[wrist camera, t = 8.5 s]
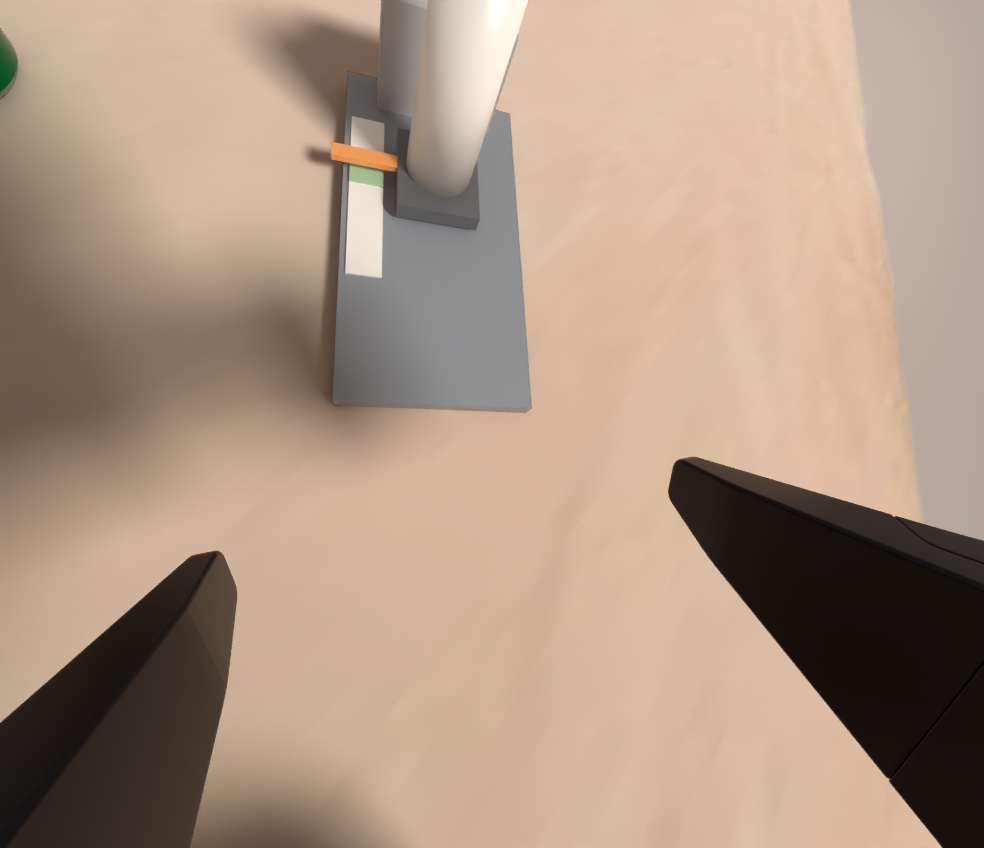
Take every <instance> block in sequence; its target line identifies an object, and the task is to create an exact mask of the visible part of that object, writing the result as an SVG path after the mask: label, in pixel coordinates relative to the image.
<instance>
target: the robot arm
mask: <svg viewBox="0 0 984 848" xmlns="http://www.w3.org/2000/svg"><path fill="white" fill-rule="evenodd" d="M668 494H669V498H670V500H671V502H672V504H673V505H674V507H675V508H676V510H677V511H678V513H679V514H680V516H681V517H682V519H683V520H684V522H685V523H686V525H687V526H688V528H689V529H690V531H691V532H692V534H693V535H694V537H695V538H696V540H697V541H698V543H699V544H700V546H701V547H702V549H703V550H704V552H705V553H706V554H707V556H708V557H709V559H710V560H711V561H712V563H713V564H714V565H715V566H716V568H717V569H718V570H719V571H720V573H721V574H722V575H723V576H724V578H725V579H726V580H727V581H728V582H729V584H730V585H731V586H732V587H733V589H734V590H735V591H736V592H737V594H738V595H739V596H740V597H741V599H742V600H743V601H744V602H745V604H746V605H747V606H748V607H749V608H750V610H751V611H752V612H753V613H754V615H755V616H756V617H757V618H758V620H759V621H760V622H761V623H762V625H763V626H764V627H765V628H766V629H767V631H768V632H769V633H770V634H771V636H772V637H773V638H774V639H775V641H776V642H777V643H778V644H779V646H780V647H781V648H782V649H783V650H784V652H785V653H786V654H787V655H788V657H789V658H790V659H791V660H792V662H793V663H794V664H795V665H796V667H797V668H798V669H799V670H800V672H801V673H802V674H803V675H804V676H805V678H806V679H807V680H808V681H809V683H810V684H811V685H812V686H813V688H814V689H815V690H816V691H817V693H818V694H819V695H820V696H821V697H822V699H823V700H824V701H825V702H826V704H827V705H828V706H829V707H830V709H831V710H832V711H833V712H834V714H835V715H836V716H837V717H838V719H839V720H840V721H841V722H842V723H843V725H844V726H845V727H846V728H847V730H848V731H849V732H850V733H851V735H852V736H853V737H854V738H855V740H856V741H857V742H858V743H859V744H860V746H861V747H862V748H863V749H864V751H865V752H866V753H867V754H868V756H869V757H870V758H871V759H872V761H873V762H874V763H875V764H876V765H877V767H878V768H879V769H880V770H881V772H882V773H883V774H884V775H885V777H887V778H889V782H890V783H891V785H892V786H893V787H894V788H895V790H896V791H897V792H898V793H899V795H900V796H901V797H902V798H903V799H904V801H905V802H906V803H907V804H908V806H909V807H910V808H911V809H912V811H913V812H914V813H915V814H916V816H917V817H918V818H919V819H920V821H921V822H922V823H923V824H924V825H925V827H926V828H927V829H928V830H929V832H930V833H931V834H932V835H933V837H934V838H935V839H936V840H937V842H938V843H939V844H940V845H941V847H942V848H984V541H983V540H979V539H975V538H971V537H968V536H964V535H960V534H957V533H953V532H949V531H946V530H943V529H939V528H936V527H932V526H929V525H925V524H922V523H918V522H915V521H911V520H908V519H905V518H901V517H898V516H895V517H893V516H892V515H890V514H887V513H884V512H881V511H877V510H874V509H870V508H867V507H864V506H860V505H857V504H854V503H850V502H847V501H843V500H840V499H837V498H833V497H830V496H826V495H823V494H820V493H816V492H813V491H809V490H806V489H803V488H799V487H796V486H793V485H789V484H786V483H782V482H779V481H776V480H772V479H769V478H765V477H762V476H759V475H755V474H752V473H748V472H745V471H742V470H738V469H735V468H732V467H728V466H725V465H721V464H718V463H715V462H711V461H708V460H704V459H701V458H698V457H688V458H683V459H679V460H677V461H676V462H675V463H674V465H673V470H672V474H671V479H670V484H669V488H668ZM236 604H237V589H236V585H235V582H234V579H233V577H232V574H231V572H230V569H229V567H228V565H227V562H226V560H225V557H224V555H223V554H222V553H221V552H219V551H211V552H206V553H201V554H196V555H193V556H191V557H189V558H188V559H187V560H186V561H184V562H183V563H182V564H181V565H180V566H179V567H178V568H176V569H175V570H174V571H173V572H172V573H171V574H170V575H168V576H167V577H166V578H165V579H164V580H163V581H162V582H160V583H159V584H158V585H157V586H156V587H155V588H154V589H153V590H151V591H150V592H149V593H148V594H147V595H146V596H145V597H143V598H142V599H141V600H140V601H139V602H138V603H137V604H135V605H134V606H133V607H132V608H131V609H130V610H129V611H127V612H126V613H125V614H124V615H123V616H122V617H121V618H119V619H118V620H117V621H116V622H115V623H114V624H113V625H111V626H110V627H109V628H108V629H107V630H106V631H105V632H103V633H102V634H101V635H100V636H99V637H98V638H97V639H95V640H94V641H93V642H92V643H91V644H90V645H89V646H87V647H86V648H85V649H84V650H83V651H82V652H81V653H79V654H78V655H77V656H76V657H75V658H74V659H73V660H72V661H70V662H69V663H68V664H67V665H66V666H65V667H64V668H62V669H61V670H60V671H59V672H58V673H57V674H56V675H54V676H53V677H52V678H51V679H50V680H49V681H48V682H46V683H45V684H44V685H43V686H42V687H41V688H40V689H38V690H37V691H36V692H35V693H34V694H33V695H32V696H30V697H29V698H28V699H27V700H26V701H25V702H24V703H22V704H21V705H20V706H19V707H18V708H17V709H16V710H14V711H13V712H12V713H11V714H10V715H9V716H8V717H6V718H5V719H4V720H3V721H2V722H1V723H0V848H190V845H191V841H192V837H193V832H194V828H195V824H196V819H197V815H198V811H199V806H200V802H201V798H202V794H203V789H204V785H205V781H206V776H207V772H208V768H209V764H210V759H211V755H212V751H213V746H214V742H215V738H216V733H217V729H218V725H219V721H220V716H221V712H222V708H223V703H224V698H225V693H226V688H227V682H228V674H229V666H230V657H231V648H232V639H233V630H234V622H235V613H236Z"/></svg>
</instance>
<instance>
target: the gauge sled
mask: <svg viewBox="0 0 984 848" xmlns="http://www.w3.org/2000/svg"><path fill="white" fill-rule="evenodd" d="M527 3H528V0H428V4H427V12H426V19H425V26H424V34H423V41H422V48H421V56H420V63H419V70H418V78H417V85H416V93H415V100H414V107H413V115H412V122H411V129H410V130H406V129H402V128H398V132H397V144H396V155H392V154H387V153H383V152H378V151H373V150H369V149H364V148H359V147H354V146H350V145H345V144H340V143H336V142H331V159H332V160H337V161H342V162H347V163H352V164H357V165H362V166H367V167H372V168H377V169H382V170H387V171H392V172H396V217H401V218H407V219H413V220H419V221H425V222H430V223H436V224H442V225H448V226H454V227H460V228H465V229H471V230H476V228H477V226H478V223H479V221H480V208H479V188H478V167H477V158H478V155H479V152H480V149H481V146H482V143H483V139H484V136H485V133H486V130H487V127H488V124H489V121H490V118H491V115H492V112H493V108H494V105H495V102H496V99H497V96H498V93H499V90H500V87H501V84H502V80H503V77H504V74H505V71H506V68H507V65H508V62H509V59H510V56H511V52H512V49H513V46H514V43H515V40H516V37H517V34H518V31H519V28H520V24H521V21H522V18H523V15H524V12H525V9H526V6H527Z"/></svg>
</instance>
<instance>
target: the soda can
mask: <svg viewBox="0 0 984 848" xmlns="http://www.w3.org/2000/svg"><path fill="white" fill-rule="evenodd" d="M16 71H17V56H16V52H15V50H14V48H13V46H12V44H11V43H10V41H9V40H8V38H7V37H6V35H5V34H4V33H3V31H2V30H1V28H0V98H1V97H3V96H4V95H5V94H6V93H7V92H8V91H9V89H10V88H11V86H12V84H13V82H14V79H15V76H16Z"/></svg>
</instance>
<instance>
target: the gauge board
mask: <svg viewBox="0 0 984 848" xmlns="http://www.w3.org/2000/svg"><path fill="white" fill-rule="evenodd" d="M427 4H428V0H381V16H380V37H379V57H378V77H377V79H376V78H373V77H369V76H365V75H361V74H357V73H354V72H350V71H348V76H347V97H346V119H345V140H344V144H345V145H350V146H354V147H359V148H364V149H369V150H373V151H378V152H383V153H387V154H392V155H396V144H397V132H398V128H402V129H406V130H410V129H411V122H412V115H413V107H414V100H415V93H416V85H417V78H418V70H419V63H420V56H421V48H422V41H423V34H424V26H425V19H426V12H427ZM517 41H518V34H517V37H516V40H515V43H514V46H513V49H512V52H511V56H510V59H509V62H508V65H507V68H506V71H505V74H504V77H503V80H502V84H501V87H500V90H499V93H498V96H497V99H496V102H495V105H494V108H493V112H492V115H491V118H490V121H489V124H488V127H487V130H486V133H485V136H484V139H483V143H482V146H481V149H480V152H479V155H478V158H477V167H478V188H479V208H480V221H479V223H478V226H477V228H476V230H471V229H465V228H460V227H454V226H448V225H442V224H436V223H430V222H425V221H419V220H413V219H407V218H401V217H396V172H392V171H387V170H382V169H377V168H372V167H367V166H362V165H357V164H352V163H347V162H343V183H342V204H341V226H340V247H339V268H338V290H337V311H336V333H335V354H334V375H333V397H332V400H333V405H346V406H371V407H396V408H421V409H447V410H472V411H497V412H522V413H526V412H527V411H529V410H530V409H531V408H532V404H531V390H530V377H529V363H528V350H527V337H526V323H525V310H524V297H523V283H522V270H521V256H520V243H519V230H518V216H517V203H516V189H515V176H514V163H513V149H512V136H511V122H510V114H509V113H506V112H502V111H498V110H495V109H496V105H497V102H498V99H499V96H500V93H501V90H502V87H503V84H504V81H505V78H506V75H507V72H508V69H509V66H510V63H511V60H512V56H513V53H514V50H515V47H516V44H517Z"/></svg>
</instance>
